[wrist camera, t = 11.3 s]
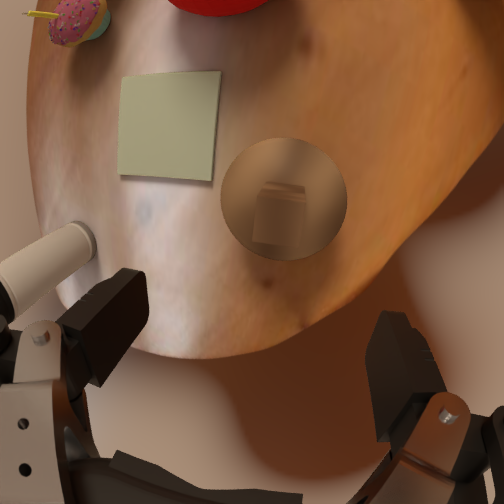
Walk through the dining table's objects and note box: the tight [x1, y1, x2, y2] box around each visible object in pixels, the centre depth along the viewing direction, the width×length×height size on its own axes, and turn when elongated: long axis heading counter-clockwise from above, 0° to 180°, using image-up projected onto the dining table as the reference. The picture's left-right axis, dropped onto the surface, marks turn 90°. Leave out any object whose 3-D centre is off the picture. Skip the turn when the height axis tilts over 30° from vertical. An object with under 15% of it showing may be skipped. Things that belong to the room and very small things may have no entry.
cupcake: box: [22, 0, 111, 47], centre depth 19 cm, size 9×8×12 cm
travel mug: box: [0, 221, 96, 324], centre depth 28 cm, size 6×7×20 cm
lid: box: [221, 138, 347, 261], centre depth 23 cm, size 11×11×7 cm
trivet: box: [117, 71, 222, 181], centre depth 29 cm, size 12×12×1 cm
